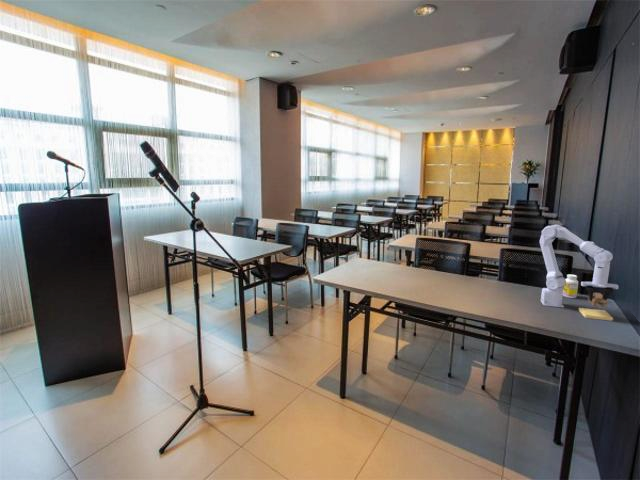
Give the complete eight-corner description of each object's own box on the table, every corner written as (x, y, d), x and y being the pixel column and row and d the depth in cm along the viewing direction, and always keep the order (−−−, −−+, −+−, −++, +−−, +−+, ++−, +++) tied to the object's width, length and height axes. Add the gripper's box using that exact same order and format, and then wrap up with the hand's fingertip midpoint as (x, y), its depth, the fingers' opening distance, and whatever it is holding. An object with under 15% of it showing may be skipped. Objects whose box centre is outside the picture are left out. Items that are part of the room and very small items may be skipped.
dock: (585, 317, 169) (585, 314, 168) (578, 310, 178) (579, 307, 178) (612, 320, 165) (613, 317, 164) (604, 313, 174) (604, 310, 174)
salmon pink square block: (594, 298, 169) (595, 294, 168) (592, 296, 171) (593, 292, 171) (602, 299, 168) (602, 295, 167) (599, 297, 170) (600, 293, 170)
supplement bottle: (561, 293, 203) (563, 273, 201) (574, 295, 200) (577, 274, 198) (564, 297, 197) (567, 276, 194) (578, 298, 194) (581, 277, 192)
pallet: (593, 306, 167) (594, 300, 167) (587, 300, 175) (588, 294, 174) (606, 307, 166) (607, 301, 165) (599, 301, 173) (600, 295, 172)
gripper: (585, 275, 166) (582, 301, 169) (622, 278, 161) (618, 305, 164) (581, 272, 173) (577, 297, 175) (616, 274, 168) (612, 300, 170)
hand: (597, 301), depth 170 cm, fingers closed on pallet, 5 cm apart
